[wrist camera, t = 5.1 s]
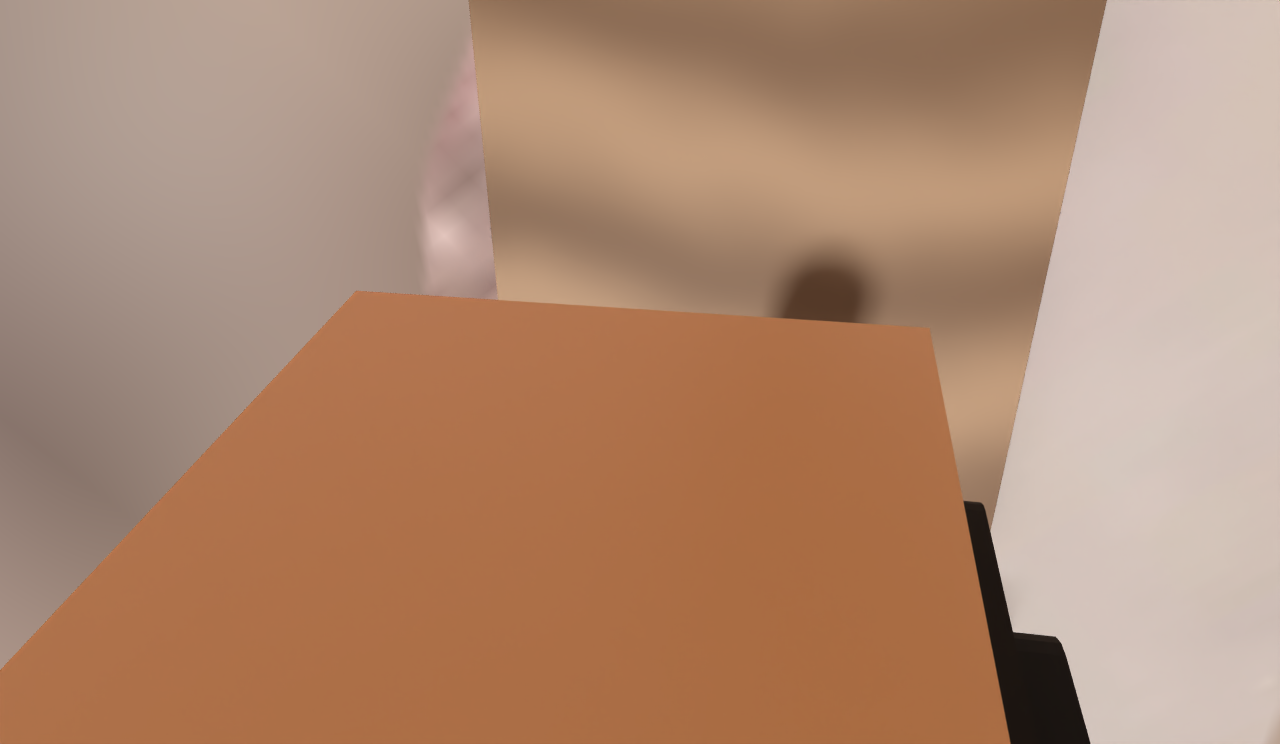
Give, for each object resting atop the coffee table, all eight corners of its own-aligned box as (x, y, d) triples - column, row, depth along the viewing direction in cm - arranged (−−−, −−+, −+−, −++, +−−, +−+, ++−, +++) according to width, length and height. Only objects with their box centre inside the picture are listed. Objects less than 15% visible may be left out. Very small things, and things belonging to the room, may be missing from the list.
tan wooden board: (469, -156, 24) (453, -153, 23) (1126, -161, 21) (1141, -158, 20) (528, 499, 34) (519, 521, 33) (977, 540, 32) (982, 565, 31)
